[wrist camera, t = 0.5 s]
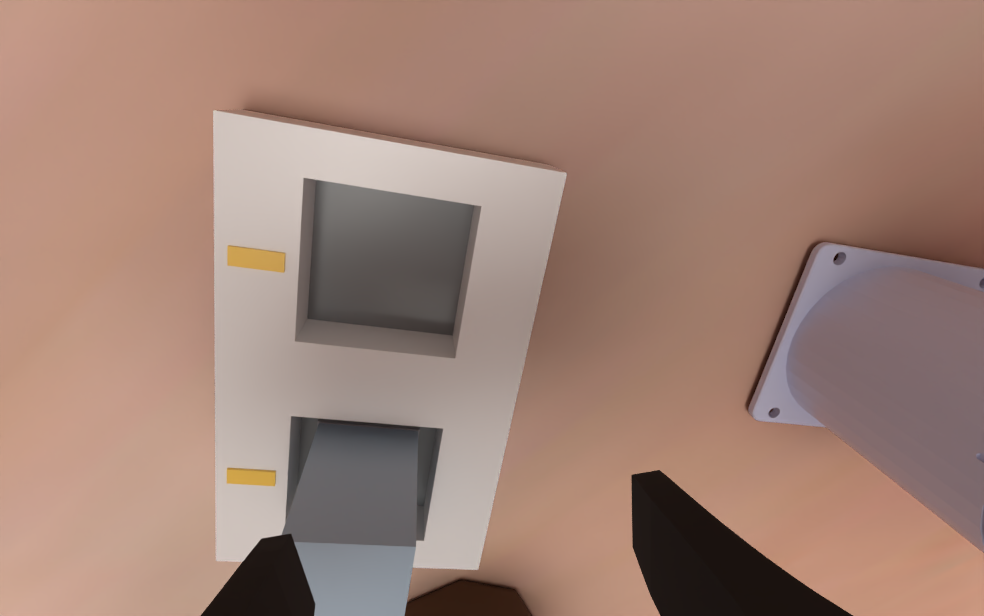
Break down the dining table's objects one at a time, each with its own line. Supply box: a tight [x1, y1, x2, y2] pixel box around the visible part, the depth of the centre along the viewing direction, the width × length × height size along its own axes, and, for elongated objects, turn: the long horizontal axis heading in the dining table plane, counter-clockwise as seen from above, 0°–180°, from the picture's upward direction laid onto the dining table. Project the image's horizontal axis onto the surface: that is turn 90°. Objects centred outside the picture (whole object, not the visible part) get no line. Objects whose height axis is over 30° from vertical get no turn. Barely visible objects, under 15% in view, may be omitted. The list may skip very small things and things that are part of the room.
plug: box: [282, 418, 420, 616], centre depth 18 cm, size 4×4×6 cm
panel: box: [213, 110, 567, 570], centre depth 19 cm, size 10×16×3 cm, turn 170°
